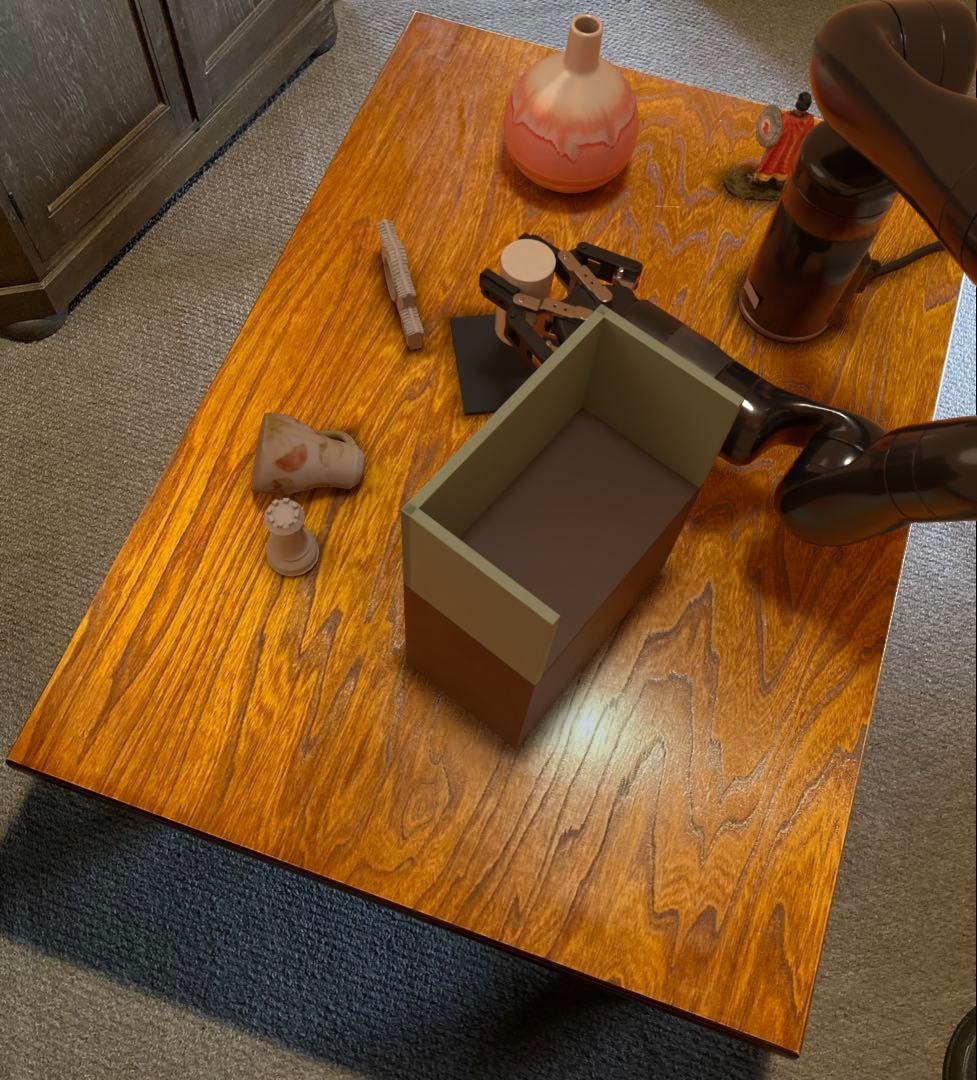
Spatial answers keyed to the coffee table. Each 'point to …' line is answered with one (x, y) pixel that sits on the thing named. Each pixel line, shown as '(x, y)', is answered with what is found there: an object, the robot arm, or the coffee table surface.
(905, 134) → the robot arm
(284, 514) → the rook chess piece
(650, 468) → the bay
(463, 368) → the mat
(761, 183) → the figurine
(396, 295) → the garden wall model
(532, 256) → the beige cylinder
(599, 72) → the vase
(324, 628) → the coffee table surface
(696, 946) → the coffee table surface
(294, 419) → the mug
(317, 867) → the coffee table surface
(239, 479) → the coffee table surface
